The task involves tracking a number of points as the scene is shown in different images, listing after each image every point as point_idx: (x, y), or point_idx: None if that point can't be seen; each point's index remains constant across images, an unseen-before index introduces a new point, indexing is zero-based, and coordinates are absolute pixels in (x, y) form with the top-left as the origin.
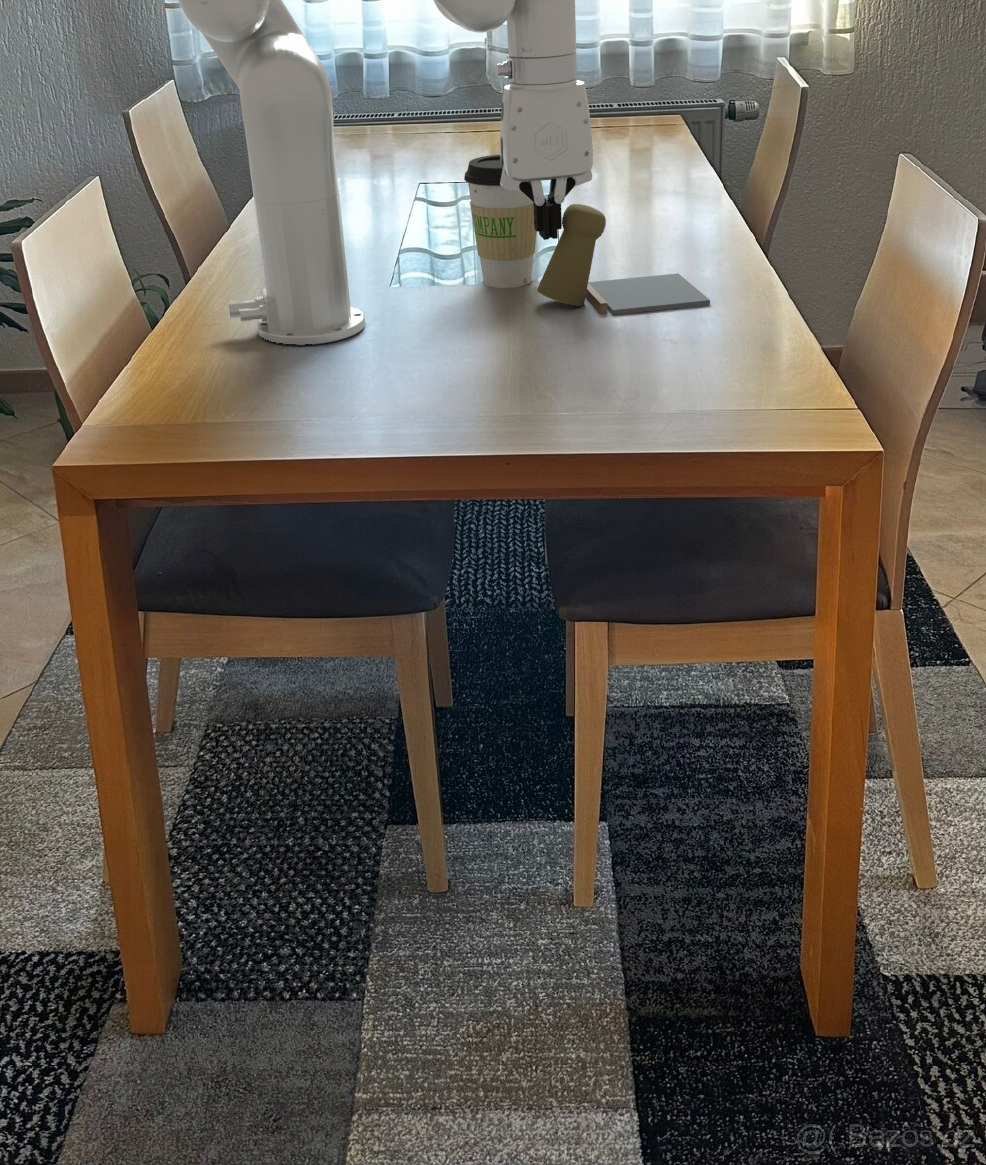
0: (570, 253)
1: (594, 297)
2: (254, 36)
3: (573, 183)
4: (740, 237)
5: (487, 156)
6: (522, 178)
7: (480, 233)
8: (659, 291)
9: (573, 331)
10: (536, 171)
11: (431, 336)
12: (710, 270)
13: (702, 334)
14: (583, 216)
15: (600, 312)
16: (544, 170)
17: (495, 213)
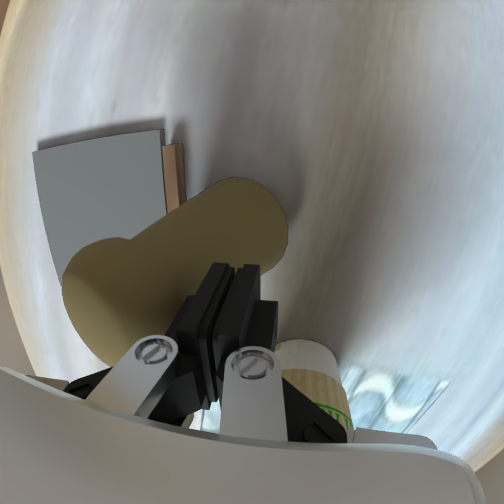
0: (193, 228)
1: (178, 192)
2: None
3: (71, 385)
4: (35, 368)
5: None
6: (394, 452)
7: (351, 425)
8: (79, 213)
9: (257, 52)
10: (255, 495)
11: (501, 139)
12: (38, 293)
13: (73, 20)
14: (102, 269)
15: (181, 144)
16: (172, 482)
17: None
